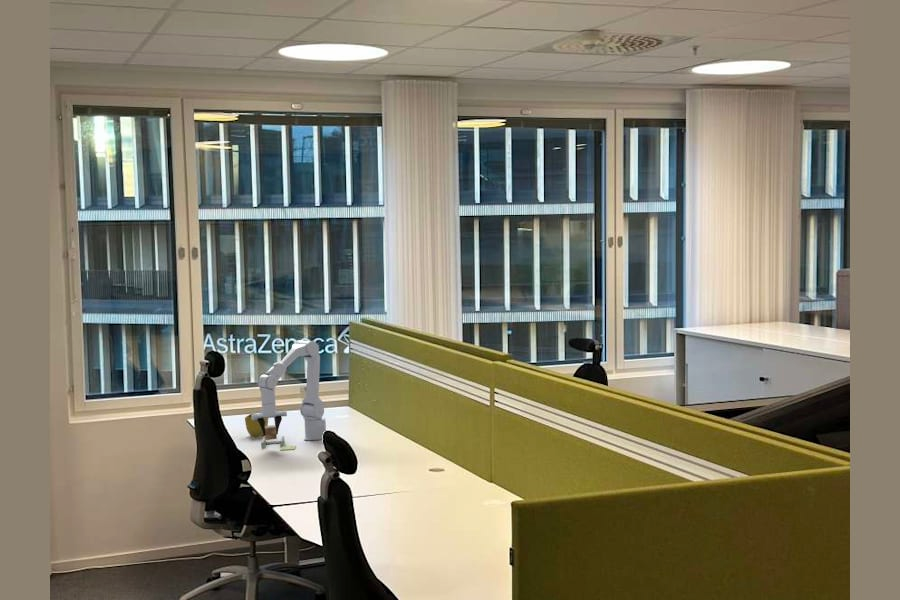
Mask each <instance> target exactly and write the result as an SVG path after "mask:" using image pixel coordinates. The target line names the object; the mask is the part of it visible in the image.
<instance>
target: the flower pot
mask: <svg viewBox="0 0 900 600" xmlns="http://www.w3.org/2000/svg"><path fill="white" fill-rule="evenodd" d="M255 414H256V413H250V414H247V416H245V417H244V422H245V428H246V431H247V432H248V435H250V436H251V437H258V436H259V437H261V436H263V432H262V429H261V426H260V424H259V422H258V420H257V419H256V420H252V415H255ZM264 421H265V426H269V425H268V424H269V418H264Z"/></svg>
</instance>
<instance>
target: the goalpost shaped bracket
mask: <svg viewBox="0 0 900 600" xmlns="http://www.w3.org/2000/svg"><path fill="white" fill-rule="evenodd" d="M285 442H286V441H285V435H282V436H281V437H280V440H273V441H267V440H266V439H265V438H264V436H263V437H262V440H261V442H260V443H261V444H260V445H261V446H260V447H261V449H265V446H266V445H279V447H280V448H281V446H285Z"/></svg>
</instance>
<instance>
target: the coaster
mask: <svg viewBox="0 0 900 600" xmlns="http://www.w3.org/2000/svg"><path fill="white" fill-rule="evenodd" d="M296 447H297V446H296V445H283V446H281V447H280V450H279V451H295V449H296Z"/></svg>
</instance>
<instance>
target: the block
mask: <svg viewBox="0 0 900 600" xmlns="http://www.w3.org/2000/svg"><path fill="white" fill-rule="evenodd" d="M265 433H266V436H263V437H264V438H265V439H266V441H268V440H269V441H270V440H278V439H277V437H278V436H277V435H278V434H277V435H276V427H275V424H274V425H273V424H272V425H268V426H265Z"/></svg>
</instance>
